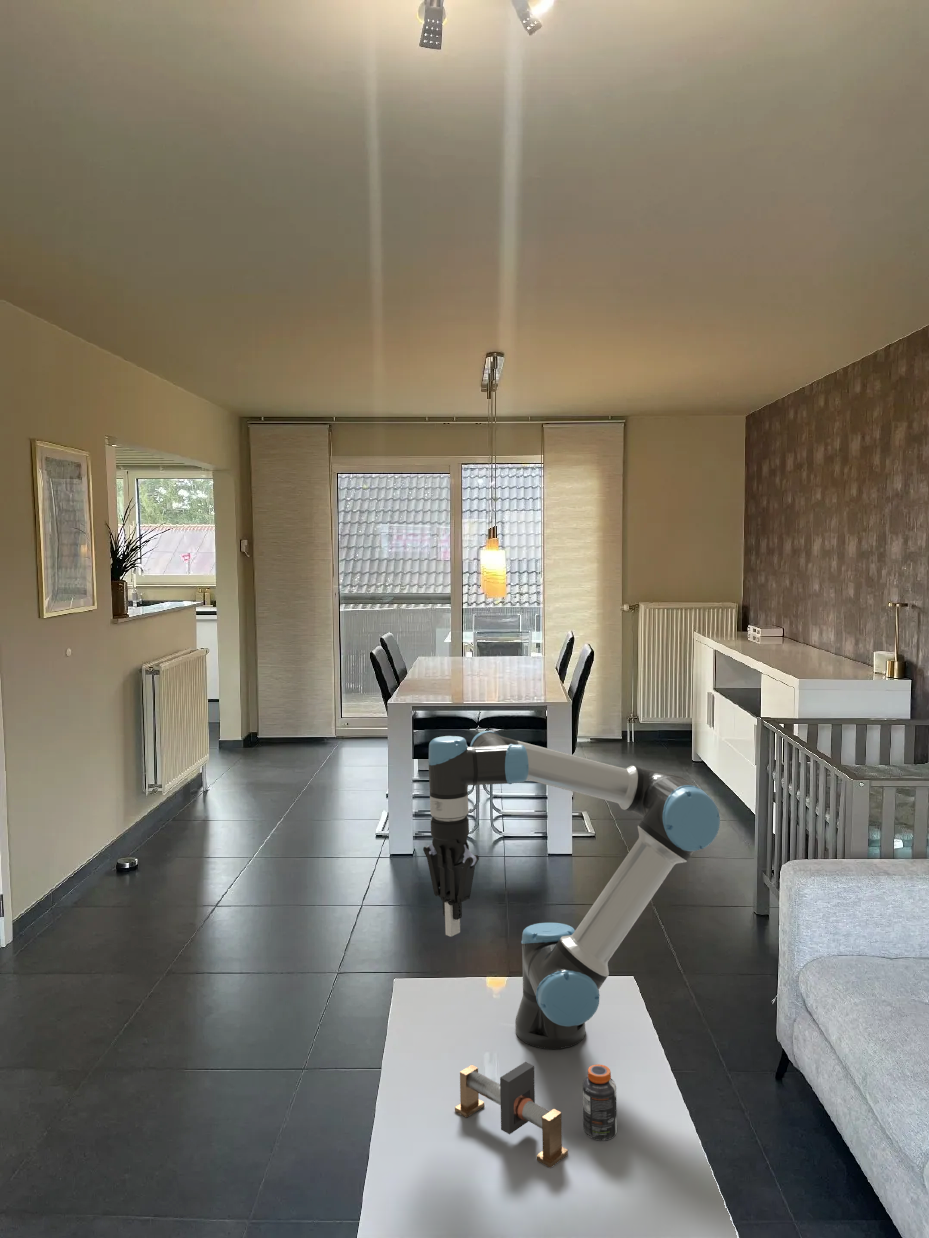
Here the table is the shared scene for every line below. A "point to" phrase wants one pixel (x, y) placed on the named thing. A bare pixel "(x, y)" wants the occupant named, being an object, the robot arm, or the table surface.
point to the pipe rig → (523, 1109)
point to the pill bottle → (599, 1103)
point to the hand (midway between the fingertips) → (452, 933)
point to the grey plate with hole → (515, 1094)
